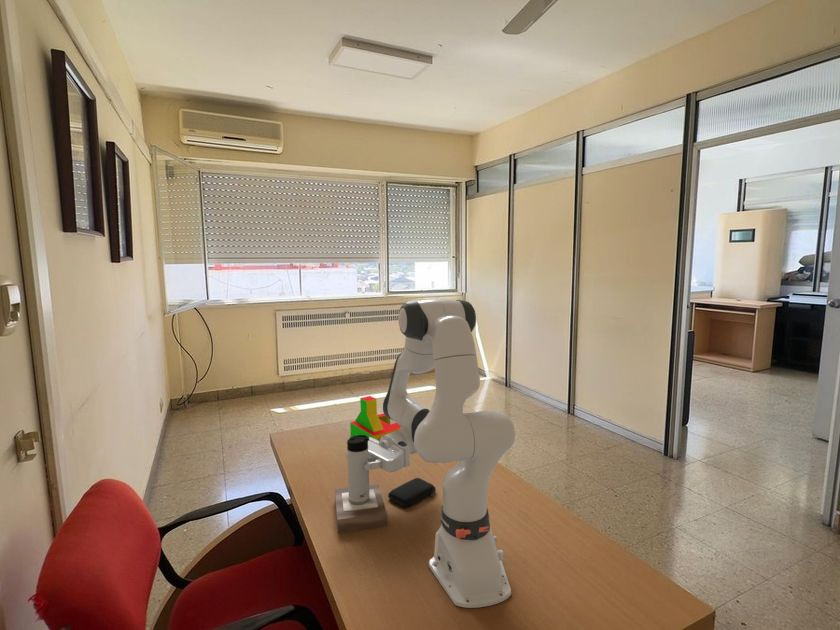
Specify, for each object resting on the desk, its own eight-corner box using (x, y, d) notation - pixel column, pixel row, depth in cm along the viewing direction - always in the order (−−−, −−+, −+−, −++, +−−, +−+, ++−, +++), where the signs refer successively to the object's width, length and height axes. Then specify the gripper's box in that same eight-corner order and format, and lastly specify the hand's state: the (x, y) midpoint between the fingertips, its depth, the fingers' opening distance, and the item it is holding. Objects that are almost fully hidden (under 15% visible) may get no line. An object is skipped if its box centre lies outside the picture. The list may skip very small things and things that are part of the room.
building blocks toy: (381, 457, 172) (380, 412, 169) (350, 436, 191) (349, 396, 189) (419, 444, 183) (419, 402, 181) (386, 426, 203) (386, 387, 200)
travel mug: (367, 506, 130) (365, 442, 127) (345, 504, 131) (343, 440, 129) (373, 495, 136) (371, 433, 133) (352, 493, 137) (351, 432, 135)
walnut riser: (386, 525, 128) (386, 512, 127) (337, 532, 125) (337, 519, 124) (378, 494, 144) (378, 482, 144) (335, 500, 141) (334, 488, 140)
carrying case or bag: (408, 513, 134) (440, 494, 145) (408, 504, 134) (440, 485, 144) (385, 499, 142) (417, 483, 152) (385, 491, 141) (417, 474, 152)
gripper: (371, 429, 148) (336, 441, 139) (412, 448, 133) (376, 463, 124) (372, 447, 149) (337, 460, 139) (412, 467, 134) (376, 484, 125)
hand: (355, 461), depth 131 cm, fingers open, 8 cm apart
